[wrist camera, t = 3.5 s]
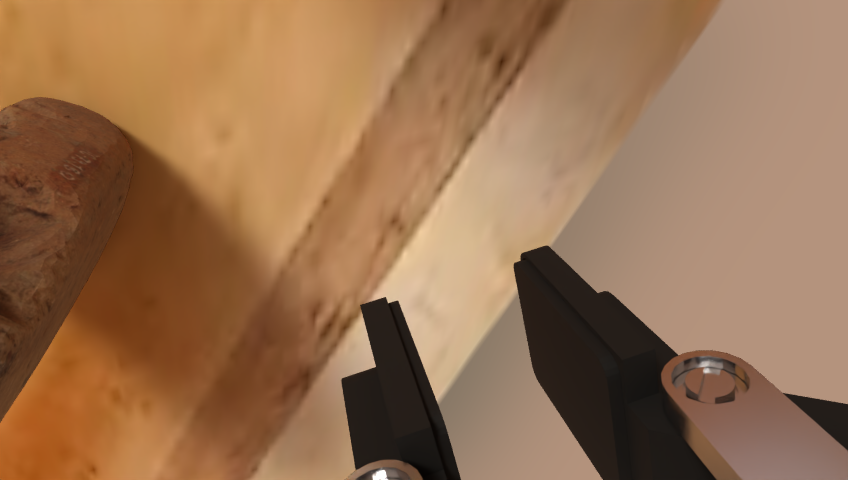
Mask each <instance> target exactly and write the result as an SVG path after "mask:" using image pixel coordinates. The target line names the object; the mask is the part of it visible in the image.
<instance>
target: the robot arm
mask: <svg viewBox="0 0 848 480" xmlns="http://www.w3.org/2000/svg"><path fill="white" fill-rule="evenodd" d="M514 272H515V278H516V283H517V288H518V293H519V299H520V304H521V309H522V314H523V320H524V325H525V330H526V335H527V341H528V346H529V351H530V357H531V362H532V367H533V370H534V373H535V375H536V378H537V380H538V382H539V383H540V385H541V386H542V388H543V389H544V391H545V392H546V394H547V395H548V397H549V398H550V400H551V402H552V403H553V405H554V406H555V408H556V409H557V411H558V412H559V413H560V415H561V417H562V418H563V420H564V421H565V423H566V424H567V426H568V427H569V429H570V430H571V432H572V434H573V435H574V437H575V438H576V439H577V441H578V443H579V444H580V446H581V447H582V449H583V450H584V452H585V453H586V455H587V456H588V458H589V459H590V460H591V462H592V464H593V465H594V467H595V468H596V470H597V471H598V473H599V474H600V476H601V477H602V479H603V480H848V404H843V403H838V402H831V401H826V400H820V399H814V398H808V397H803V396H797V395H791V394H785V393H782V392H781V391H780V390H779V389H777V388H776V387H775V386H774V385H773V384H772V383H771V382H769V381H768V380H767V379H766V378H765V377H764V376H763V375H762V374H760V373H759V372H758V371H757V370H756V369H755V368H753V366H751V365H750V364H748V363H747V362H745V361H744V360H742V359H741V358H738V357H736V356H733V355H731V354H728V353H724V352H718V351H712V350H710V351H709V350H706V351H705V350H703V351H702V350H701V351H700V350H699V351H692V352H687V353H684V354H681V355H678V354H676V353H675V352H674V351H673V350H672V349H671V348H670V347H669V346H668V345H667V344H665V342H664V341H662V340H661V339H660V338H659V337H658V336H657V335H656V334H655V333H654V332H653V331H651V329H649V328H648V327H647V326H646V325H645V324H644V323H643V322H642V321H641V320H640V319H639V318H638V317H636V316H635V315H634V314H633V313H632V312H631V311H630V310H629V309H628V308H627V307H626V306H624V305H623V304H622V303H621V302H620V301H619V300H618V299H617V298H616V297H615V296H614V295H612V294H611V293H609V292H607V291H603V292H600V293H597V292H596V291H595V290H594V289H593V288H592V287H591V286H590V285H588V284H587V283H586V282H585V281H584V280H583V279H582V278H581V277H580V276H579V275H578V274H577V273H576V272H575V271H574V270H573V269H572V268H571V267H570V266H569V265H568V264H567V263H566V262H565V261H564V260H562V258H560V257H559V256H558V255H557V254H556V253H555V252H554V251H553V250H552V249H551V248H550V247H549V246H543V247H540V248H537V249H534V250H531V251H527V252H524V253H522V254H521V261H519V262H516V263H514ZM360 306H361V310H362V314H363V318H364V322H365V325H366V329H367V333H368V337H369V341H370V345H371V349H372V352H373V356H374V360H375V364H376V367H375V368H372V369H369V370H366V371H363V372H360V373H357V374H354V375H351V376H348V377H345V378H342V388H343V394H344V401H345V407H346V413H347V419H348V425H349V431H350V438H351V444H352V450H353V456H354V462H355V468H356V471H354V472H353V473H352V474H351V475H350V476H348V477H347V478H346V479H345V480H461V479H460V475H459V472H458V468H457V464H456V461H455V457H454V454H453V450H452V446H451V443H450V439H449V436H448V433H447V429H446V426H445V423H444V420H443V417H442V414H441V412H440V409H439V406H438V404H437V401H436V398H435V396H434V393H433V391H432V388H431V385H430V383H429V380H428V378H427V375H426V372H425V370H424V367H423V364H422V362H421V359H420V357H419V354H418V351H417V349H416V346H415V344H414V341H413V338H412V336H411V333H410V331H409V328H408V325H407V323H406V320H405V317H404V315H403V312H402V310H401V307H400V304H399V302H398V301H394V302H391V303H388V302H387V299H386V297H384V298H381V299H378V300H375V301H371V302H368V303H365V304H362V305H360Z"/></svg>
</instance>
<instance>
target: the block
mask: <svg viewBox="0 0 848 480" xmlns="http://www.w3.org/2000/svg"><path fill="white" fill-rule="evenodd" d="M132 175H133V153H132V151H131V148H130V146H129V143H128V141H127V140H126V138H125V137H124V135H123V134H122V133H121V132H120V130H119V129H118V128H117V127H116V126H115V125H113V124H112V123H111V122H110V121H109V120H108V119H106V118H105V117H103V116H102V115H100V114H98V113H95V112H93V111H91V110H89V109H87V108H84V107H82V106H78V105H75V104H71V103H68V102H65V101H61V100H56V99H51V98H43V97H37V98H30V99H25V100H22V101H20V102H18V103H15V104H13V105H12V106H11V105H10V106H8V107H6V108H3V110H2V111H1V112H0V422H1V421H2V419H3V418H4V416H5V414H6V413H7V411H8V410H9V408H10V407H11V405H12V404H13V402H14V401H15V399H16V398H17V396H18V395H19V393H20V392H21V390H22V389H23V387H24V386H25V384H26V383H27V381H28V379H29V378H30V376H31V374H32V373H33V371H34V370H35V368H36V367H37V365H38V364H39V362H40V360H41V359H42V357H43V355H44V354H45V352H46V351H47V349H48V347H49V345H50V344H51V342H52V340H53V339H54V337H55V335H56V334H57V332H58V330H59V328H60V327H61V325H62V323H63V322H64V320H65V318H66V317H67V315H68V313H69V311H70V310H71V308H72V306H73V304H74V303H75V301H76V299H77V297H78V296H79V294H80V292H81V290H82V289H83V287H84V285H85V283H86V282H87V280H88V278H89V276H90V275H91V273H92V271H93V269H94V267H95V265H96V263H97V261H98V260H99V258H100V256H101V254H102V252H103V250H104V248H105V246H106V244H107V241H108V239H109V237H110V235H111V233H112V231H113V229H114V226H115V224H116V222H117V220H118V218H119V216H120V213H121V211H122V209H123V206H124V203H125V199H126V196H127V193H128V190H129V184H130V179H131V177H132Z"/></svg>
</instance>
